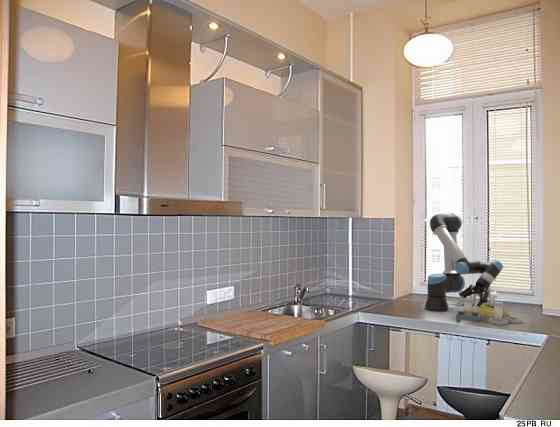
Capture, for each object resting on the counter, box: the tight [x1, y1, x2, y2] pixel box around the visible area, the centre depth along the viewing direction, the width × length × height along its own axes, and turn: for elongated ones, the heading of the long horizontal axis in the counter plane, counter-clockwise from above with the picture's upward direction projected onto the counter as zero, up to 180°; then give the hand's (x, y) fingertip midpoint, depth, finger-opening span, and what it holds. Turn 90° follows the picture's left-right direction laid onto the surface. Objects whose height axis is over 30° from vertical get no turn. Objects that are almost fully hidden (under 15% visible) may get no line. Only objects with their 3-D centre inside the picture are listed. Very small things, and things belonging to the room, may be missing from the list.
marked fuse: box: [463, 297, 473, 316], centre depth 272 cm, size 5×5×12 cm
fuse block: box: [486, 316, 524, 327], centre depth 261 cm, size 20×9×4 cm, turn 111°
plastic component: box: [477, 303, 510, 318], centre depth 285 cm, size 20×7×10 cm
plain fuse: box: [493, 300, 504, 321], centre depth 259 cm, size 5×5×12 cm
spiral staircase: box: [457, 279, 498, 308], centre depth 319 cm, size 18×18×25 cm
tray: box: [456, 310, 480, 323], centre depth 272 cm, size 12×12×4 cm
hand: (465, 307), depth 271 cm, fingers open, 13 cm apart
